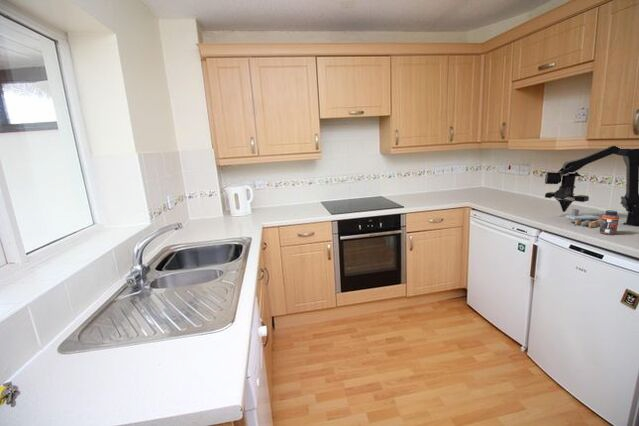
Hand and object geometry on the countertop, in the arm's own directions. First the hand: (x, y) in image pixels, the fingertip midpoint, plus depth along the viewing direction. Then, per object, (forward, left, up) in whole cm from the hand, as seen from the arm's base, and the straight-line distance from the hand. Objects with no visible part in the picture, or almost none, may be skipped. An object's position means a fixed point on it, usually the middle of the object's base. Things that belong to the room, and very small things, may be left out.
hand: (563, 211), depth 170 cm
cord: (+2, +12, -5) cm, 13 cm away
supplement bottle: (+11, +24, -5) cm, 27 cm away
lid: (-1, +9, -2) cm, 9 cm away
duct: (0, +12, -5) cm, 13 cm away
